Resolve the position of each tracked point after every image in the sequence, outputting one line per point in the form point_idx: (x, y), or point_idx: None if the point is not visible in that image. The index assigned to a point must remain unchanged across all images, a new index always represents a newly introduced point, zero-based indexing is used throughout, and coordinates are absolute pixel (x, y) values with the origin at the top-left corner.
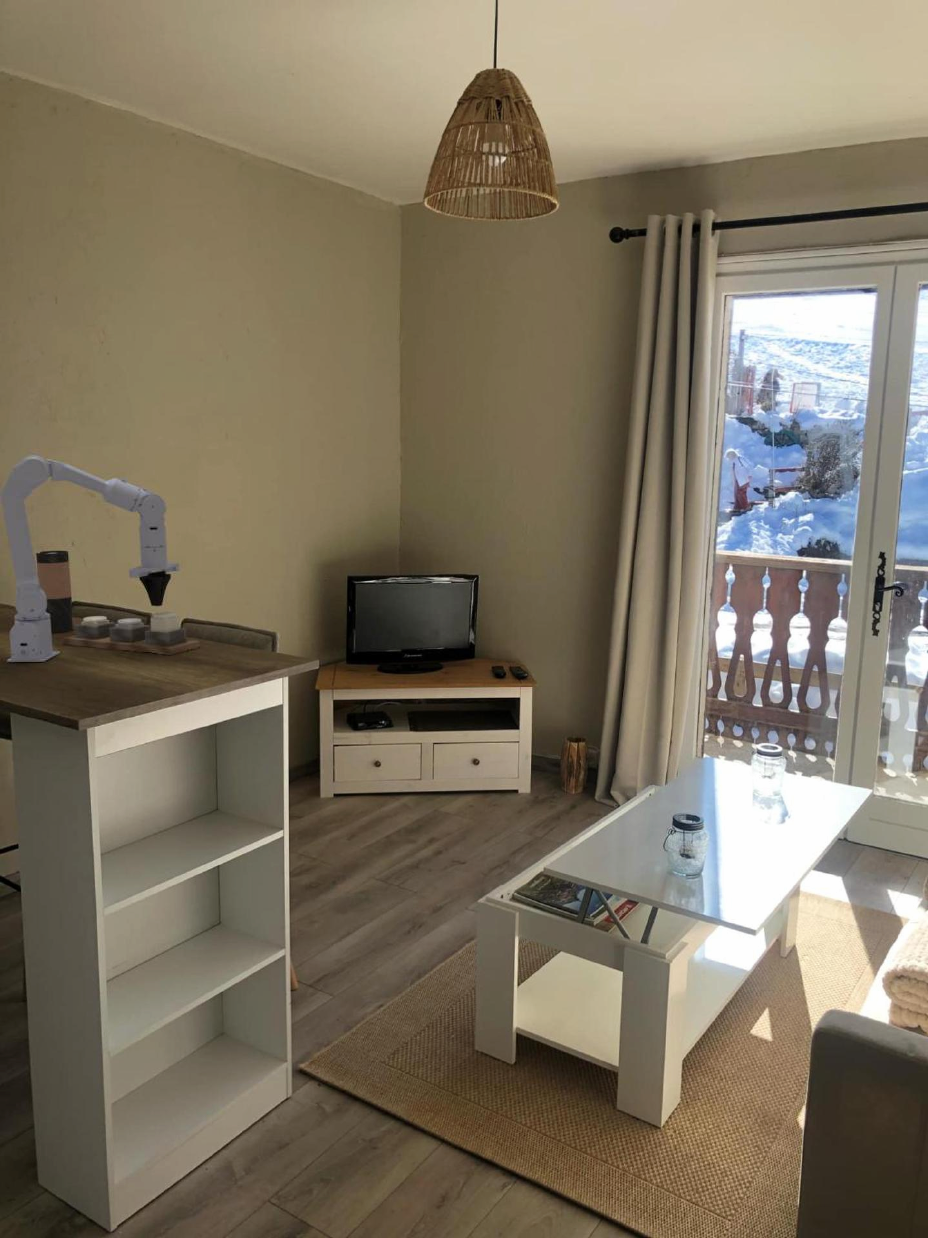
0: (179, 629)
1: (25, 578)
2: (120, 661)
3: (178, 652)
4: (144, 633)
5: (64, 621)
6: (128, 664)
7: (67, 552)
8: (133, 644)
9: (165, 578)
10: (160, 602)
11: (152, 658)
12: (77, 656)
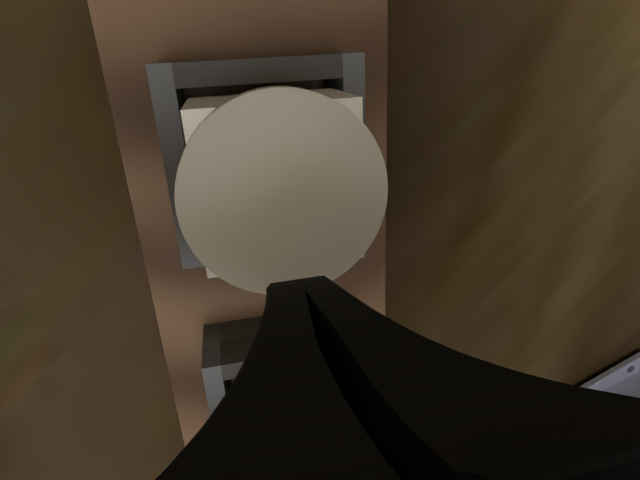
0: (189, 98)
1: None
2: (567, 121)
3: None
4: (253, 336)
5: None
6: (616, 30)
7: None
8: (372, 267)
9: (367, 471)
10: (309, 286)
11: (470, 28)
12: (527, 346)
